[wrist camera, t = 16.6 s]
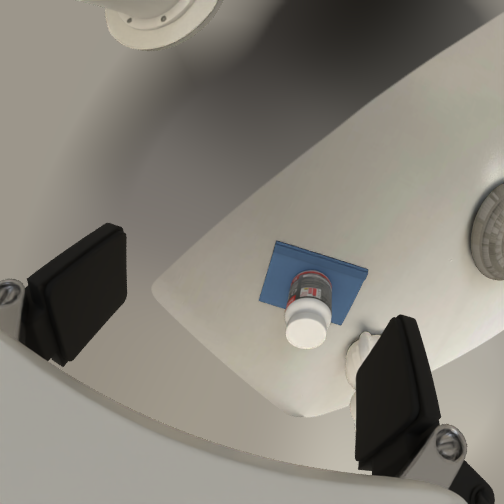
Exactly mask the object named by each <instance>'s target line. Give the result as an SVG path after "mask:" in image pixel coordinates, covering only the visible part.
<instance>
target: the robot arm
mask: <svg viewBox="0 0 504 504" xmlns="http://www.w3.org/2000/svg"><path fill="white" fill-rule="evenodd" d="M77 1H82V2H85V3H89V4H93V5H97V6H100V7H104V8H107V9H111V10H114V11H117V12H118V14H119V16H120V18H121V20H122V21H123V22H124V23H125V24H126V25H128V26H129V27H131V28H134V29H138V30H154V29H159V28H162V27H164V26H167V25H169V24H170V23H172V22H174V21H175V20H177V19H178V18H180V17H181V16H182V15H183V14H184V13H185V12H186V11H187V10H188V9H189V8H190V7H191V5H192V4H193V3H194V1H195V0H77ZM27 281H28V286H27V287H26V288H25V287H24V285H23V283H21V282H20V281H19V280H16V279H5V280H2V281H0V504H494V502H495V499H494V493H493V490H492V488H491V487H490V486H489V484H488V483H487V482H486V481H485V480H484V479H483V478H482V477H481V476H480V475H479V474H478V473H477V472H476V471H475V470H474V469H473V468H472V467H471V466H470V465H469V464H468V463H467V462H466V461H465V460H464V459H465V456H466V453H467V444H466V440H465V438H464V436H463V434H462V433H461V432H460V431H459V429H457V428H456V427H454V426H452V425H449V424H442V425H440V424H439V419H440V418H441V414H440V410H439V405H438V400H437V395H436V391H435V387H434V382H433V378H432V374H431V370H430V366H429V363H428V359H427V355H426V352H425V348H424V345H423V341H422V338H421V335H420V331H419V328H418V325H417V322H416V320H415V319H414V318H411V317H408V316H404V315H398V316H397V317H396V318H395V317H393V318H392V319H391V320H390V322H389V323H388V325H387V327H386V328H385V330H384V331H383V333H382V335H381V336H380V338H379V339H378V341H377V342H376V344H375V345H374V347H373V348H372V350H371V351H370V353H369V354H368V356H367V357H366V359H365V360H364V362H363V363H362V365H361V366H360V368H359V369H358V371H357V374H356V445H355V459H356V461H359V467H358V470H367V471H372V475H363V474H355V473H347V472H339V471H333V470H326V469H320V468H314V467H308V466H302V465H297V464H292V463H287V462H283V461H279V460H274V459H270V458H266V457H262V456H258V455H254V454H251V453H247V452H244V451H240V450H237V449H233V448H230V447H227V446H223V445H220V444H217V443H214V442H211V441H208V440H205V439H203V438H200V437H197V436H194V435H191V434H189V433H186V432H184V431H181V430H178V429H176V428H173V427H171V426H168V425H166V424H164V423H161V422H159V421H156V420H154V419H152V418H150V417H147V416H145V415H143V414H141V413H139V412H137V411H135V410H132V409H131V408H128V407H126V406H124V405H122V404H120V403H118V402H116V401H114V400H113V399H111V398H108V397H107V396H105V395H103V394H101V393H99V392H98V391H96V390H94V389H92V388H90V387H89V386H87V385H85V384H83V383H82V382H80V381H78V380H77V379H75V378H73V377H72V376H70V375H68V374H67V373H65V372H64V371H62V370H60V369H59V368H57V367H56V366H54V365H52V364H51V363H49V362H48V361H49V359H50V358H52V360H53V361H55V362H56V363H58V364H59V365H61V366H62V367H64V366H65V364H66V363H67V362H68V361H72V360H74V359H75V357H76V356H77V355H78V354H79V353H80V352H81V350H82V349H83V348H84V347H85V346H86V345H87V343H88V342H89V341H90V340H91V339H92V338H93V337H94V335H95V334H96V333H97V332H98V331H99V330H100V329H101V327H102V326H103V325H104V324H105V323H106V322H107V321H108V319H109V318H110V317H111V316H112V315H113V314H114V313H115V312H116V310H118V308H119V307H120V306H121V305H122V304H123V303H124V302H125V299H126V297H127V275H126V234H125V233H124V232H123V228H122V227H119V226H116V225H114V224H111V223H106V224H104V225H103V226H101V227H100V228H98V229H96V230H95V231H94V232H92V233H90V234H89V235H87V236H86V237H84V238H83V239H81V240H80V241H78V242H77V243H76V244H74V245H73V246H71V247H70V248H68V249H67V250H65V251H64V252H63V253H61V254H60V255H58V256H57V257H55V258H54V259H53V260H51V261H50V262H49V263H47V264H46V265H45V266H43V267H42V268H40V269H39V270H38V271H36V272H35V273H34V274H32V275H31V276H30V277H29V278H27Z"/></svg>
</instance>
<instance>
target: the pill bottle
mask: <svg viewBox="0 0 504 504" xmlns="http://www.w3.org/2000/svg"><path fill="white" fill-rule="evenodd" d="M331 318H332V286H331V282H330V280H329V279H328V278H327V276H325V275H324V274H323V273H321V272H318V271H314V270H308V271H304V272H301V273H299V274H298V275H297V276H295V278H294V279H293V281H292V283H291V287H290V292H289V297H288V302H287V306H286V311H285V322H286V324H287V325H286V338H287V340H288V341H289V342H290V343H291V344H292V345H294V346H296V347H298V348H302V349H311V348H315V347H317V346H319V345H321V344H322V343H323V342H324V340H325V339H326V335H327V328H328V327H329V325H330V323H331Z"/></svg>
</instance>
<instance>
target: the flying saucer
mask: <svg viewBox="0 0 504 504" xmlns="http://www.w3.org/2000/svg"><path fill="white" fill-rule="evenodd" d="M471 252H472V257H473V260H474V263H475V265H476V267H477V268H478V270H479V271H480V272H481V273H482V274H483V275H485V276H486V277H488V278H490V279H494V280H504V183H503V184H501V185H499V186H498V187H496V188H495V189H494V190H493V191H492V192H491V193H490V194H489V195H488V196H487V198H486V199H485V200H484V202H483V203H482V205H481V207H480V209H479V210H478V213H477V215H476V218H475V221H474V224H473V228H472V234H471Z"/></svg>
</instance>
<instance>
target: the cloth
mask: <svg viewBox="0 0 504 504" xmlns="http://www.w3.org/2000/svg"><path fill="white" fill-rule="evenodd" d="M308 270H314V271H318V272H321V273H323V274H324V275H325V276H327V278H328V279H329V280H330V282H331V286H332V318H331V323H335V324H338V325H342V323H343V321H344V319H345V317H346V315H347V313H348V312H349V310H350V308H351V306H352V304H353V302H354V300H355V298H356V296H357V294H358V292H359V290H360V288H361V286H362V283H363V281H364V280H365V279H366V277H367V275H368V269H365V268H362V267H359V266H356V265H353V264H349V263H346V262H343V261H340V260H337V259H334V258H330V257H327V256H324V255H321V254H318V253H315V252H311V251H308V250H305V249H302V248H299V247H295V246H292V245H289V244H286V243H282V242H279V241H276V244H275V247H274V251H273V255H272V258H271V261H270V265H269V268H268V271H267V275H266V278H265V282H264V285H263V288H262V292H261V295H260V298H259V301H261V302H264V303H267V304H271V305H274V306H277V307H280V308H284V309H286V306H287V302H288V297H289V292H290V287H291V283H292V281H293V279H294V278H295V276H297V275H298V274H299V273H301V272H304V271H308Z"/></svg>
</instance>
